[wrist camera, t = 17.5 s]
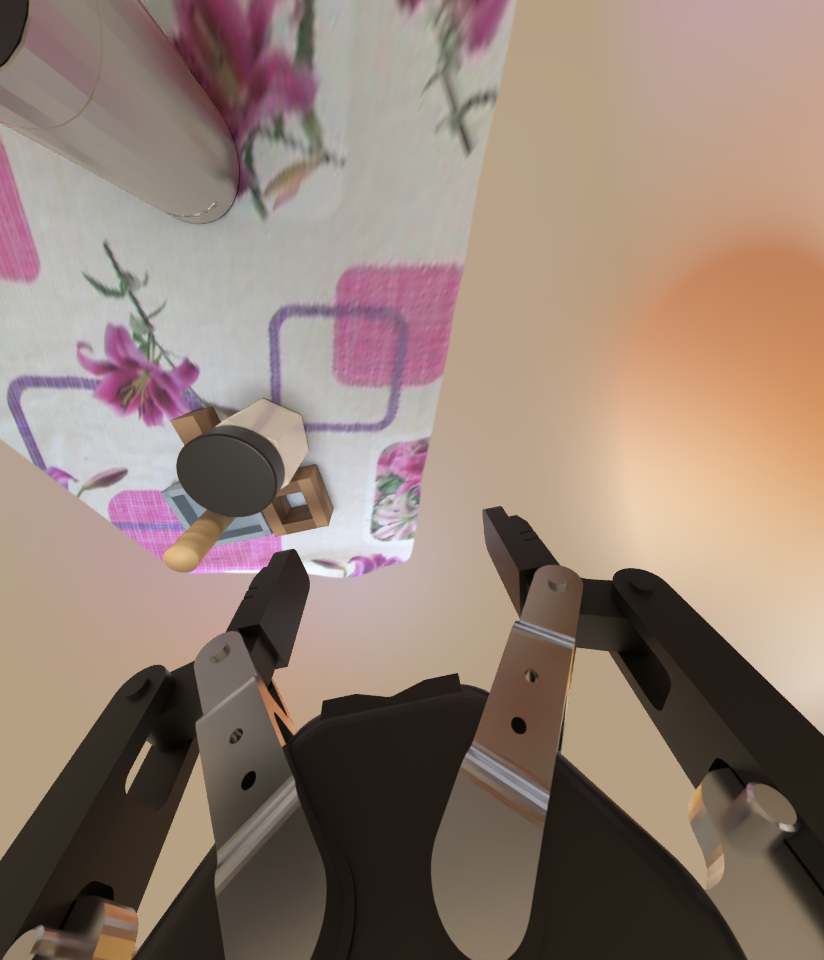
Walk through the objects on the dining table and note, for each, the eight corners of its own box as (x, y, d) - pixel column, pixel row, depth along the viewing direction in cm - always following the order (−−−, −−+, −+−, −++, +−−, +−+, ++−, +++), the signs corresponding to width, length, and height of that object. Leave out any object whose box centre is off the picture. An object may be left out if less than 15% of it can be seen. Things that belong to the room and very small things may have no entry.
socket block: (264, 475, 38) (251, 490, 35) (316, 464, 38) (309, 478, 35) (284, 519, 42) (275, 536, 38) (333, 508, 42) (328, 525, 38)
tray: (173, 483, 38) (160, 492, 36) (249, 467, 38) (241, 475, 35) (209, 538, 42) (199, 549, 40) (277, 523, 42) (271, 534, 40)
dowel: (209, 499, 39) (156, 551, 30) (233, 495, 39) (188, 546, 30) (220, 519, 40) (172, 574, 31) (243, 515, 40) (202, 570, 31)
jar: (226, 449, 36) (162, 498, 26) (243, 387, 33) (178, 414, 23) (298, 476, 39) (267, 531, 28) (320, 421, 36) (293, 460, 25)
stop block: (192, 411, 34) (170, 420, 30) (212, 406, 34) (192, 415, 30) (221, 465, 37) (204, 479, 34) (240, 461, 37) (225, 475, 34)
